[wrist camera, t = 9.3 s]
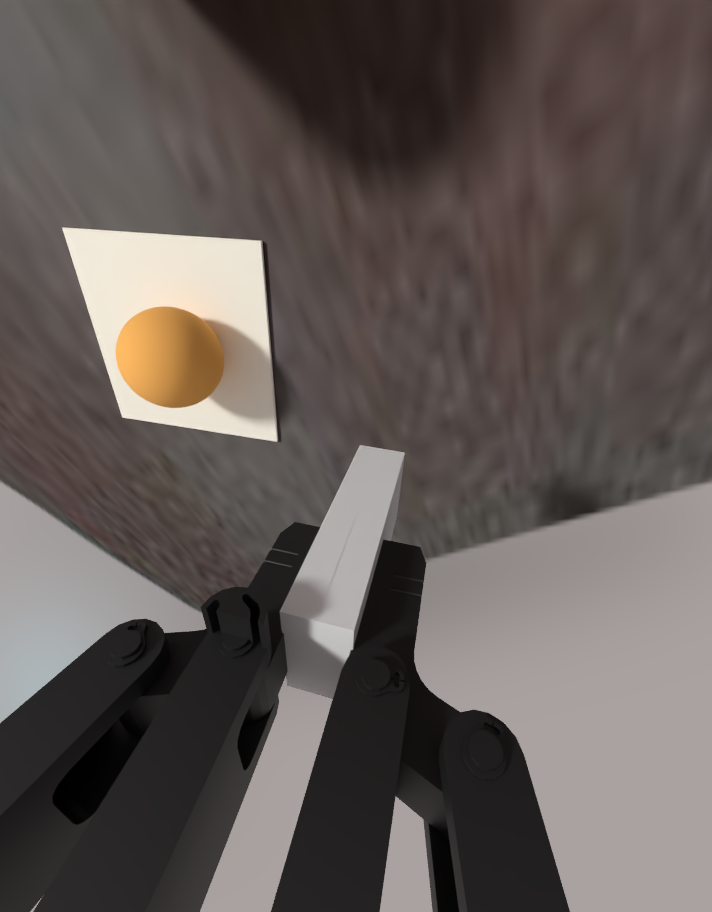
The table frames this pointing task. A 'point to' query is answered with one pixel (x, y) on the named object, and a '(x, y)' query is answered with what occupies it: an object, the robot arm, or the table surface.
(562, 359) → the table surface
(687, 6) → the table surface
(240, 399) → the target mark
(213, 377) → the ball
